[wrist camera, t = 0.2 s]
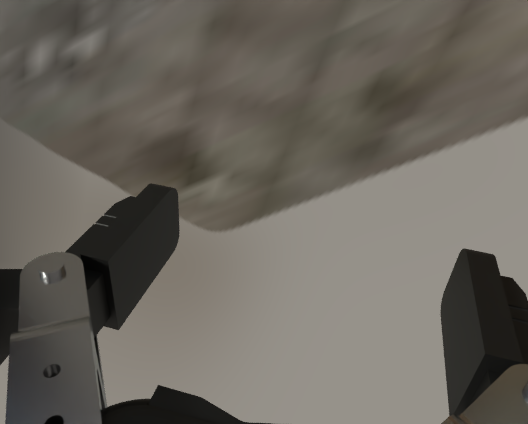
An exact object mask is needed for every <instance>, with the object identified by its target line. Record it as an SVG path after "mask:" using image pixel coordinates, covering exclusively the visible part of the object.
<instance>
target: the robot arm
mask: <svg viewBox="0 0 528 424" xmlns="http://www.w3.org/2000/svg"><path fill="white" fill-rule="evenodd" d="M178 239H179V209H178V193H177V190H176V189H175V188H171V187H166V186H161V185H156V184H149V185H148V186H147V187H146V188H145V189H144V190H143V191H142V192H141V193H140V194H139V195H138V196H137V197H132V196H130V197H128V198H126V199H124V200H122V201H119V202H117V203H115V204H114V205H113V206H112V207H111V208H110V209H109V210H108V211H107V212H106V213H105V214H104V216H102V217H101V218H100V219H99V220H98V221H97V222H96V224H95V225H94V224H93V225H92V227H90V228H89V229H88V230H87V231H86V232H85V233H84V234H83V235H82V236H81V237H80V238H79V239H78V240H77V241H76V242H75V243H74V244H73V245H72V246H71V247H70V248H69V249H68V250H67V251H66V252H54V253H48V254H45V255H42V256H39V257H37V258H35V259H33V260H32V261H30V262H29V263H28V264H27V265H25V267H24V268H23V269H0V365H1V364H2V362H3V361H4V360H5V359H6V358H7V356H8V355H9V366H8V384H7V401H6V402H7V403H6V420H5V424H271V423H247V422H243V421H240V420H238V419H237V418H235V417H233V416H232V415H230V414H228V413H227V412H225V411H223V410H222V409H220V408H218V407H216V406H215V405H213V404H211V403H210V402H208V401H206V400H205V399H203V398H201V397H198V396H195V395H191V394H187V393H184V392H181V391H177V390H174V389H170V388H167V387H163V386H160V385H158V387H157V389H156V390H155V392H154V394H153V396H152V398H151V399H137V400H131V401H126V402H121V403H118V404H115V405H112V406H109V407H107V402H106V395H105V388H104V381H103V374H102V367H101V359H100V353H99V345H98V339H97V334H98V332H99V331H100V329H101V328H102V327H103V326H105V327H109V328H113V329H116V330H119V329H120V327H121V326H122V325H123V323H124V322H125V320H126V319H127V317H128V316H129V315H130V313H131V312H132V310H133V309H134V308H135V306H136V304H137V303H138V302H139V300H140V299H141V298H142V296H143V295H144V293H145V292H146V290H147V289H148V287H149V286H150V285H151V283H152V282H153V280H154V279H155V278H156V276H157V275H158V273H159V272H160V270H161V269H162V268H163V266H164V265H165V263H166V262H167V261H168V259H169V258H170V256H171V255H172V253H173V252H174V250H175V248H176V246H177V243H178ZM441 324H442V335H443V346H444V358H445V369H446V381H447V391H448V403H449V415H450V416H449V417H448V418H447V419H446V420H445V421H444V422H443V423H442V424H528V301H527V297H526V294H525V293H524V292H523V290H522V289H521V288H520V287H519V286H518V284H517V283H516V282H515V281H514V280H513V278H509V277H505V276H500V272H499V269H498V265H497V261H496V258H495V256H494V255H493V254H488V253H483V252H479V251H474V250H469V249H462V250H461V252H460V254H459V256H458V258H457V261H456V263H455V266H454V268H453V271H452V273H451V276H450V278H449V281H448V283H447V286H446V288H445V291H444V294H443V298H442V303H441Z"/></svg>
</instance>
